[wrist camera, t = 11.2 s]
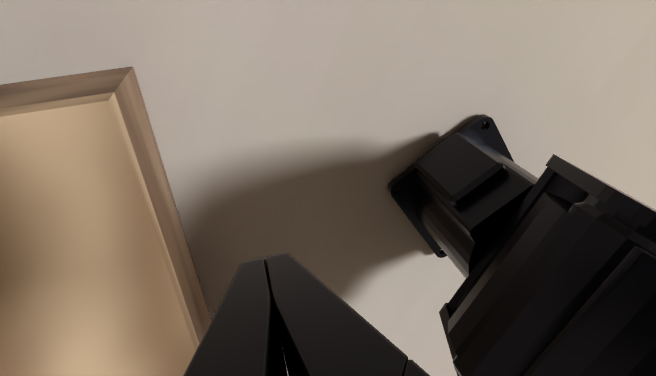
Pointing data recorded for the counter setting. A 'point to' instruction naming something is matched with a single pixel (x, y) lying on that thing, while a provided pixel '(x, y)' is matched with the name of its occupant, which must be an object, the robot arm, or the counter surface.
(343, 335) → the robot arm
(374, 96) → the counter surface
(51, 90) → the cart bed
